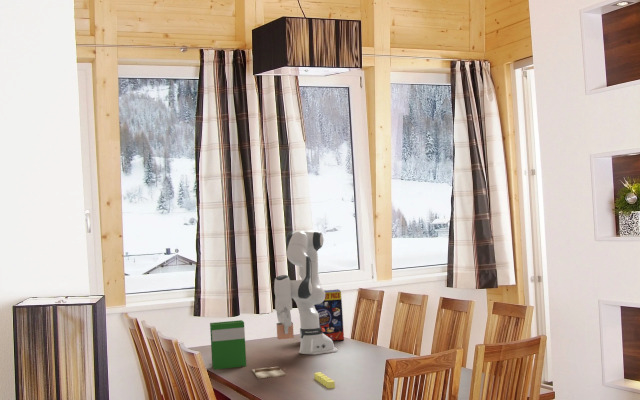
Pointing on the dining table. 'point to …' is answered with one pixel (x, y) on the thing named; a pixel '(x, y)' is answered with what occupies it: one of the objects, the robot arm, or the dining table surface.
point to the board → (268, 372)
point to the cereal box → (331, 315)
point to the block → (281, 331)
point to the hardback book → (228, 344)
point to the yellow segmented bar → (324, 380)
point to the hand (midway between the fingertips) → (285, 333)
